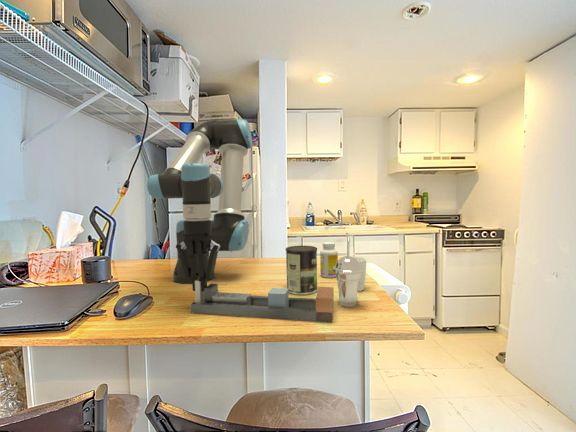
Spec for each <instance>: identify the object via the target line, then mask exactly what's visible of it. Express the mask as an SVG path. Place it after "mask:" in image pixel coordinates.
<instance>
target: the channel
mask: <svg viewBox="0 0 576 432" xmlns="http://www.w3.org/2000/svg"><path fill="white" fill-rule="evenodd" d="M334 293H335V292H334V286H332V287H331V286H318V288H317V292H316V296H315V298H307V297H306V298H305V297H290V296H289V308H285V307H268V295H254V294H253V295H251V305H234V304H217V303H205V301H204V302H202V303H201V302H196V301H193V302H191V303H190V314H199V315H201V314H202V315H214V316H215V315H216V316H230V317H243V318H244V317H245V318H260V319H276V320H290V321H302V322H303V321H305V322H316V323H317V322H320V323H322V322H323V323H333V319H334V317H333V316H334V309H335V308H334V306H335V305H334V304H335V303H334V301H335V300H334V298H335V295H334Z"/></svg>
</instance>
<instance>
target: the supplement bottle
mask: <svg viewBox="0 0 576 432" xmlns="http://www.w3.org/2000/svg"><path fill="white" fill-rule="evenodd" d="M335 247H336V243H335V242H333V241H325V242H324V241H323V242H322V248H321V250H320V254H319V257H320V261H319V262H320V276H321V277H322V278H327V279H328V278H329V279H330V278H331V279H332V278H336V272H334V271H333V267H334V266H336V263H337V261H338V260H339V258H338V256H339V255H338V253H339V252H338V250H337V249H336V248H335Z"/></svg>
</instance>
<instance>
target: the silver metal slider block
mask: <svg viewBox="0 0 576 432" xmlns="http://www.w3.org/2000/svg"><path fill="white" fill-rule="evenodd" d="M251 294H252V293H240V292H239V293H238V292H219V283H213V282H212V283H210V284H207V287H205V288H204V297H205V303H217V304H234V305H251Z"/></svg>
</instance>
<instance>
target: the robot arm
mask: <svg viewBox="0 0 576 432" xmlns="http://www.w3.org/2000/svg"><path fill="white" fill-rule="evenodd" d="M252 148H253V137H252V131H251V128H250V124H249V122H248V120H246V119H238V118H236V119H218V120H216V119H214V120H212V119H211V120H206V121H203V122H201V123H200V124H198V125H197V126H195V127H194V128H193V129H192V130H191V131H190V132H189V133H188V134H187V135H186V137H185V142H184V144H183V145H182V146H181V147H180V149H179V151H177V154H176V155H175V157H173V158H172V160H171V162H169V164H168V165H167V167H166V169H164V171H163V172H162V173H161V174H160V173H156V174H152V175H150V176H149V177H148V178H147V185H146V188H147V191H148V193H149V195H150V196H151V197H152V198H154V199H163V200H167V199H182V217H183V220H179V221H178V222H176V229H175V230H176V231H175V235H176V244H175V248H176V254H177V255H176V256H177V261H176V264H175V268H174V270H173V281H174V282H176V283H178V284H191V285H192V291H193V292H195V293H194V295H195V302H201V303H204V301H205V297H204V288H205V287H207V286H208V281H210V280H212V279H214V278H215V273H216V272H215V269H216V264H217V259H218V253H219V252H239V251H242V250H243V249H244V248H246V245H247V242H248V240H249V239H248V237H249V230H250V229H249V226H250V224H249V221H248V220H246V218H245V215H244V214H243V213H242V195H243V194H242V193H243V177H244V176H243V175H244V158H245V156H247V155H248V153H249V152H248V150H250V149H252ZM210 150H218V152H219V153H220V154H221V168H220V176H218V175H216V174H214V173H211V171H210V166H209V165H208V164H206V163H199V162H200V160H201V158H202V157H203V155H205V154H206V153H208V152H209V151H210ZM217 197H218V198H219V199H218V209H217V210H218V211H217V212H215V213H214V215H213V219H212V220H211V218H212V208H211V207H212V205H211V201H212V200H211V199H215V198H217Z"/></svg>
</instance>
